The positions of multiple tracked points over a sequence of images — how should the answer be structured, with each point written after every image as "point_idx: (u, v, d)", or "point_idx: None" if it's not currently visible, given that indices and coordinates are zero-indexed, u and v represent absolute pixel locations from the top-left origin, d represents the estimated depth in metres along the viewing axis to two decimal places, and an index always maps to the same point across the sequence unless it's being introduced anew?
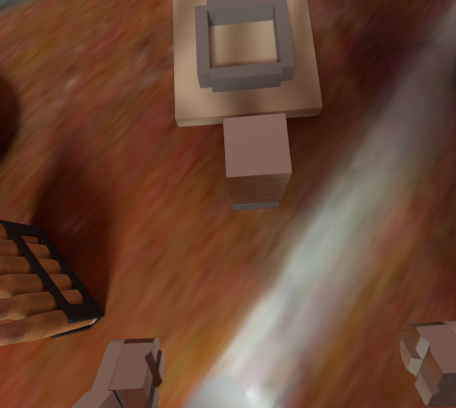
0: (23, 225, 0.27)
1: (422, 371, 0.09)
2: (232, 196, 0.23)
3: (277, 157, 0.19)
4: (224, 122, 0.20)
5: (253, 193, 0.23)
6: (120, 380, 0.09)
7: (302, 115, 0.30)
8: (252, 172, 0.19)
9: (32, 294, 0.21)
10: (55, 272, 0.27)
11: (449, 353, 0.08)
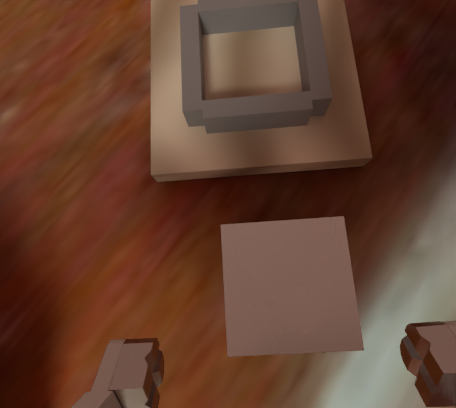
0: None
1: (422, 371, 0.09)
2: None
3: (333, 314, 0.09)
4: (223, 233, 0.10)
5: None
6: (121, 380, 0.09)
7: (338, 167, 0.20)
8: (280, 346, 0.09)
9: None
10: None
11: (449, 353, 0.08)
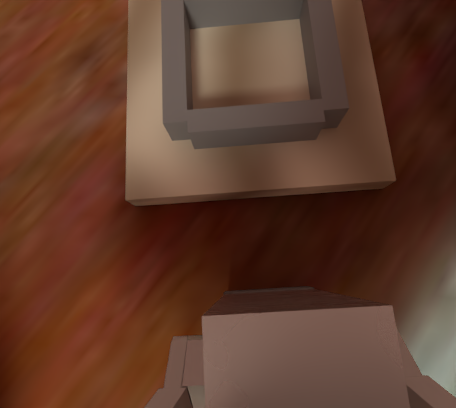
0: None
1: None
2: None
3: None
4: (206, 330, 0.06)
5: None
6: (192, 376, 0.08)
7: (353, 189, 0.17)
8: None
9: None
10: None
11: None
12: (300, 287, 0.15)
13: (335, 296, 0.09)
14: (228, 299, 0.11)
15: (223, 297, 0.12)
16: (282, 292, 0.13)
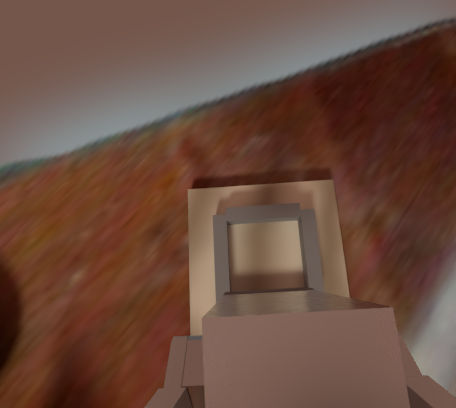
0: None
1: None
2: None
3: None
4: (205, 332, 0.06)
5: None
6: (192, 377, 0.08)
7: None
8: None
9: None
10: None
11: None
12: (300, 288, 0.15)
13: (335, 297, 0.09)
14: (228, 300, 0.11)
15: (223, 298, 0.12)
16: (282, 293, 0.13)
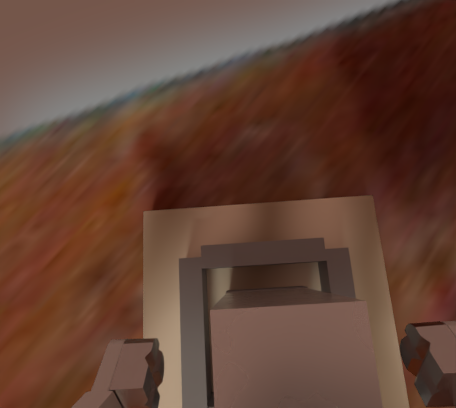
0: None
1: (422, 371, 0.09)
2: None
3: None
4: (213, 322, 0.08)
5: None
6: (120, 380, 0.09)
7: None
8: None
9: None
10: None
11: (449, 353, 0.08)
12: None
13: (323, 294, 0.11)
14: (230, 297, 0.12)
15: (226, 295, 0.13)
16: (279, 291, 0.14)
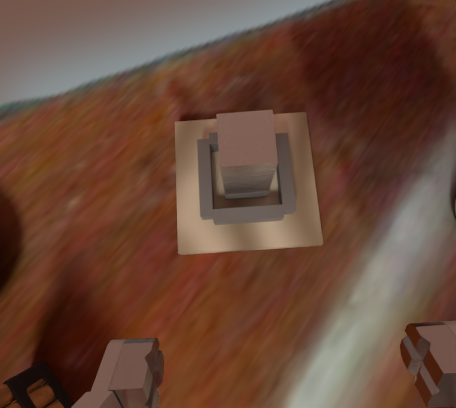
0: (28, 371, 0.27)
1: (422, 371, 0.09)
2: (225, 185, 0.26)
3: (265, 149, 0.21)
4: (217, 117, 0.22)
5: (244, 182, 0.25)
6: (120, 380, 0.09)
7: (302, 246, 0.31)
8: (242, 162, 0.21)
9: None
10: None
11: (449, 353, 0.08)
12: None
13: None
14: None
15: None
16: None
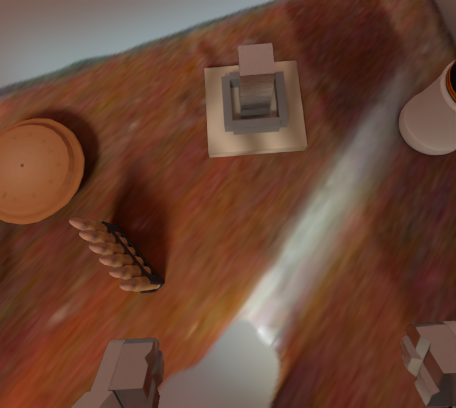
0: (111, 224, 0.41)
1: (422, 371, 0.09)
2: (241, 98, 0.40)
3: (267, 65, 0.35)
4: (238, 48, 0.36)
5: (254, 95, 0.39)
6: (120, 380, 0.09)
7: (293, 150, 0.45)
8: (254, 73, 0.35)
9: (132, 265, 0.36)
10: (133, 255, 0.41)
11: (449, 353, 0.08)
12: None
13: None
14: None
15: None
16: None
